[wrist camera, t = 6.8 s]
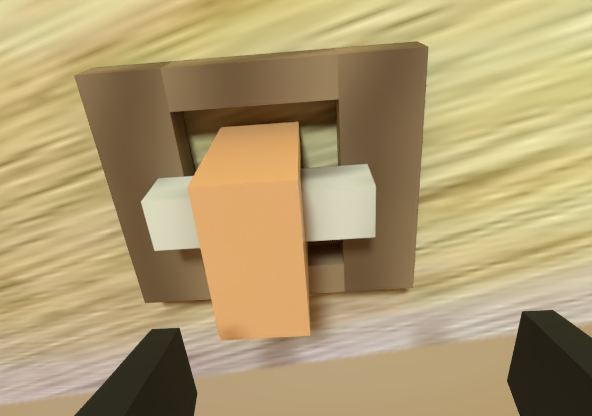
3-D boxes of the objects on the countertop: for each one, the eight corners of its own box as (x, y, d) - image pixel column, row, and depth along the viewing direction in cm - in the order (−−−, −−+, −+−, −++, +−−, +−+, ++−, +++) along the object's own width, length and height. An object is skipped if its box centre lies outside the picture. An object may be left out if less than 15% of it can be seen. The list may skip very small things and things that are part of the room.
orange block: (298, 121, 16) (297, 179, 11) (307, 244, 19) (310, 335, 14) (221, 127, 16) (187, 187, 11) (240, 249, 19) (220, 339, 14)
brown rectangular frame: (417, 41, 15) (447, 55, 12) (405, 267, 20) (425, 319, 17) (93, 67, 16) (42, 87, 13) (155, 282, 20) (129, 335, 17)
